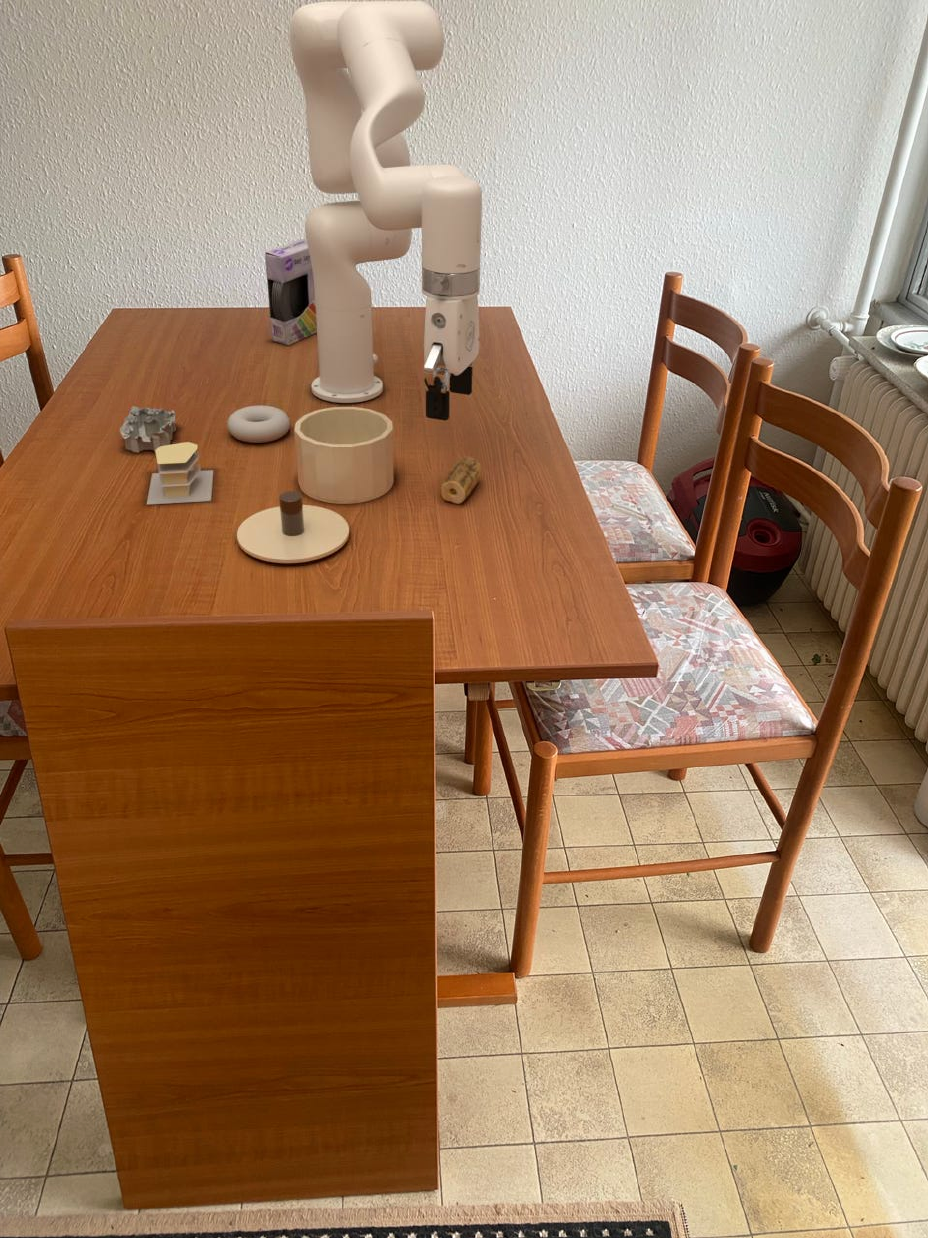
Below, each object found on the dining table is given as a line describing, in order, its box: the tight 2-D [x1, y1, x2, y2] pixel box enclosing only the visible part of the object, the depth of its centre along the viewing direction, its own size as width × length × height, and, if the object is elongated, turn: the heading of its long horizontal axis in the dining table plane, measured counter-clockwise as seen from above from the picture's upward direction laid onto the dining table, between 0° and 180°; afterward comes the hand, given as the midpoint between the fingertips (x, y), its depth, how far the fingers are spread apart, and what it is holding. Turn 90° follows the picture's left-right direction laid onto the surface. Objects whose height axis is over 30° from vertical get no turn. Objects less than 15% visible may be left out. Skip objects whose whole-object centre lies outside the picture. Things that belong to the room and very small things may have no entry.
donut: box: [226, 405, 291, 444], centre depth 167 cm, size 10×4×10 cm
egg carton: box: [119, 405, 177, 454], centre depth 164 cm, size 11×8×4 cm
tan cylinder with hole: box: [440, 456, 482, 505], centre depth 151 cm, size 8×4×4 cm, turn 162°
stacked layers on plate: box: [146, 441, 214, 505], centre depth 150 cm, size 10×9×6 cm
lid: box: [236, 490, 350, 564], centre depth 138 cm, size 15×15×6 cm
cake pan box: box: [264, 237, 317, 346], centre depth 204 cm, size 19×5×18 cm, turn 147°
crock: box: [294, 406, 395, 505], centre depth 152 cm, size 14×14×9 cm
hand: (449, 405), depth 144 cm, fingers open, 9 cm apart
